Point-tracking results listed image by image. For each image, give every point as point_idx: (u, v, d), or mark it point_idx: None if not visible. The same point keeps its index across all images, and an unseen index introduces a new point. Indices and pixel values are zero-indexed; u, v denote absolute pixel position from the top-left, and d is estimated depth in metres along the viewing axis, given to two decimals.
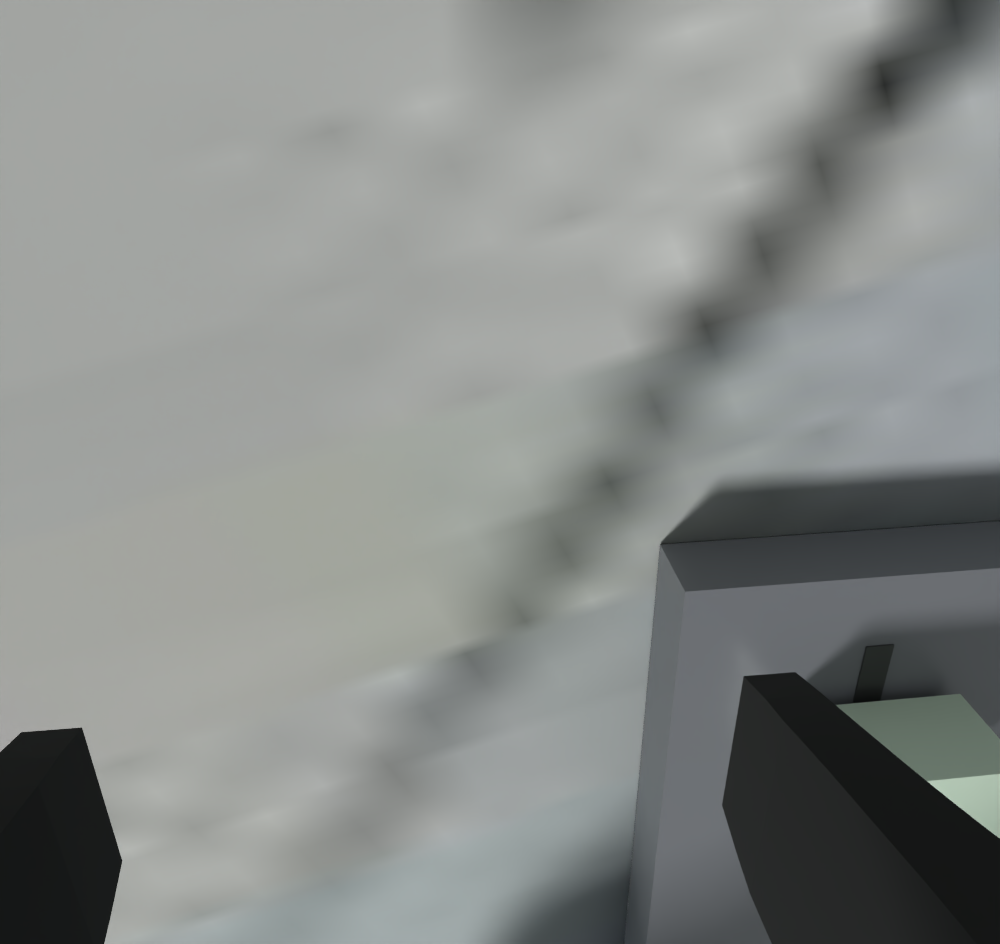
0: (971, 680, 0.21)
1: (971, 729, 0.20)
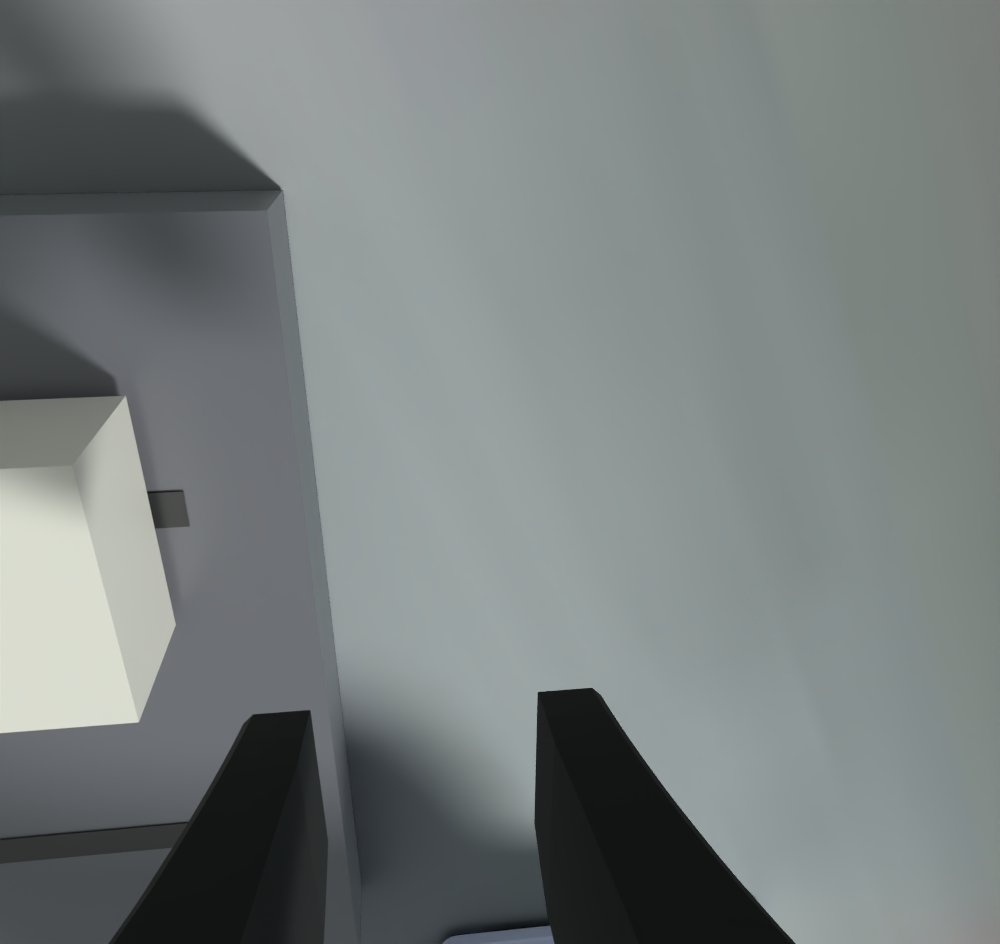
0: None
1: None
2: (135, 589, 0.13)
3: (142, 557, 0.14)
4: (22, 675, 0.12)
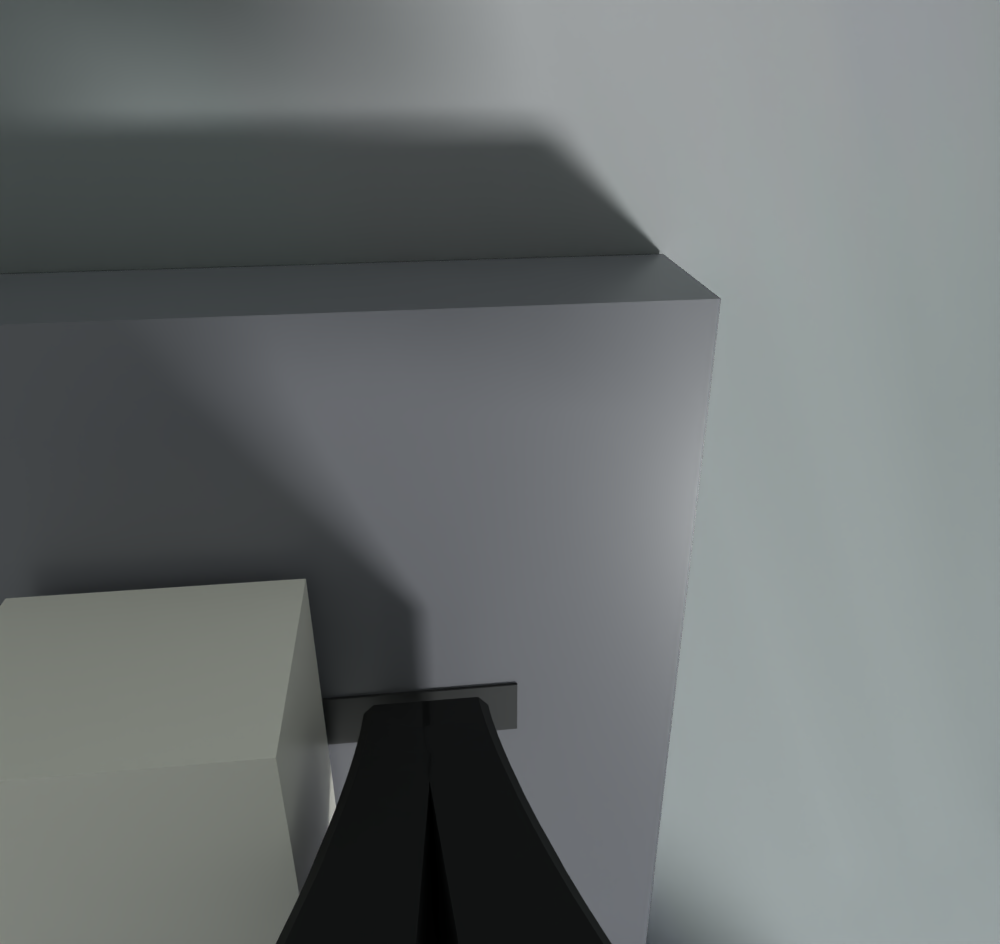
0: None
1: None
2: None
3: (324, 812, 0.09)
4: None
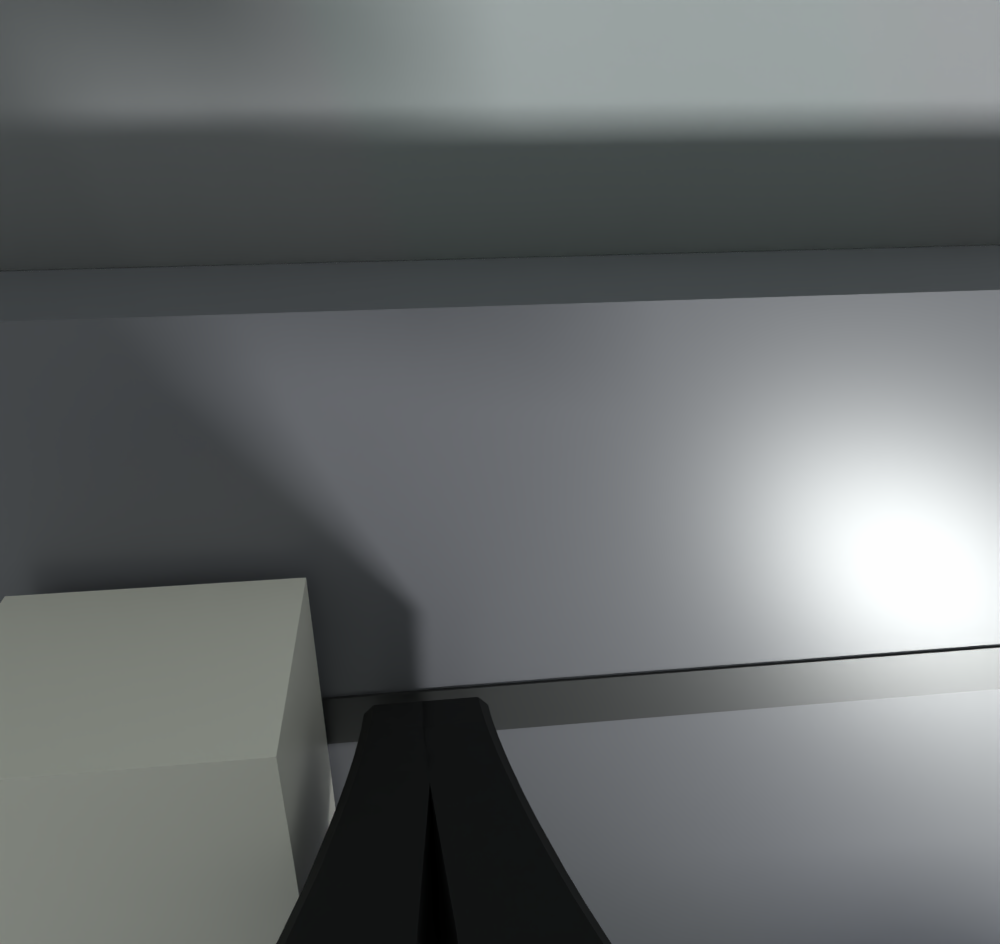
0: None
1: None
2: None
3: (323, 811, 0.09)
4: None
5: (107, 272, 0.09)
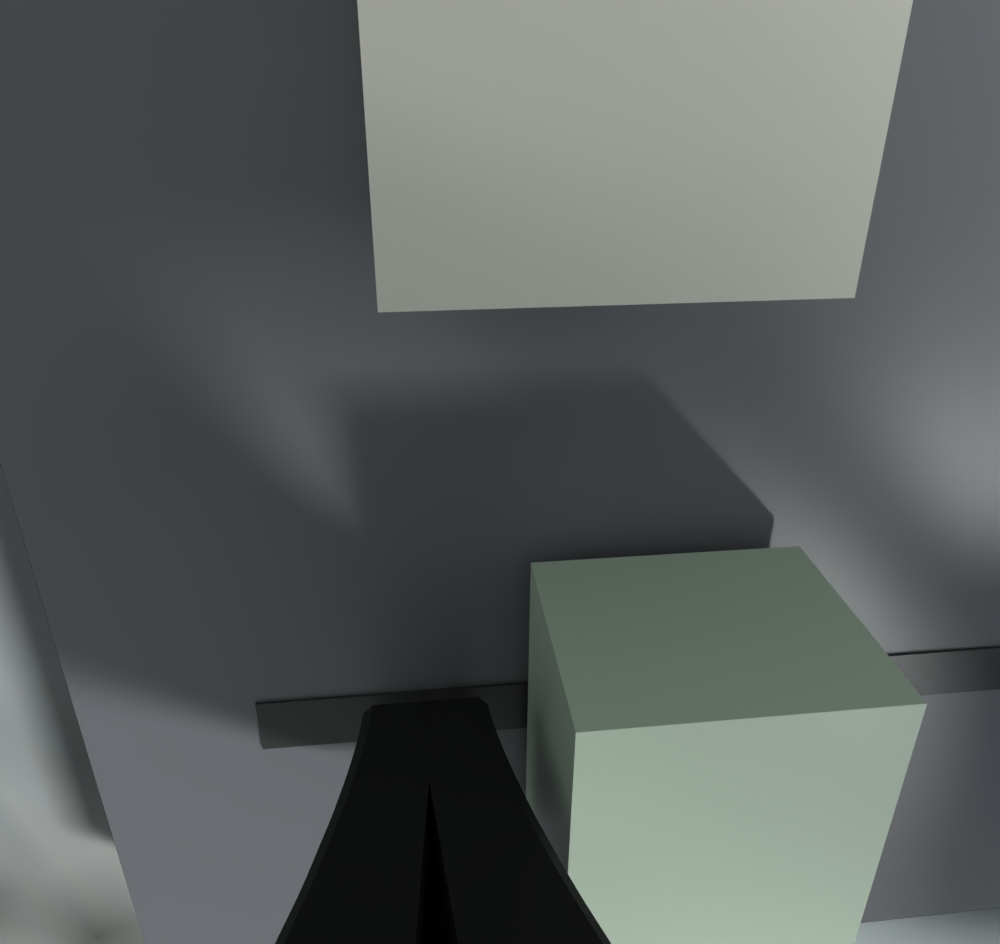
0: (361, 520, 0.09)
1: (547, 668, 0.08)
2: None
3: None
4: (641, 115, 0.05)
5: None
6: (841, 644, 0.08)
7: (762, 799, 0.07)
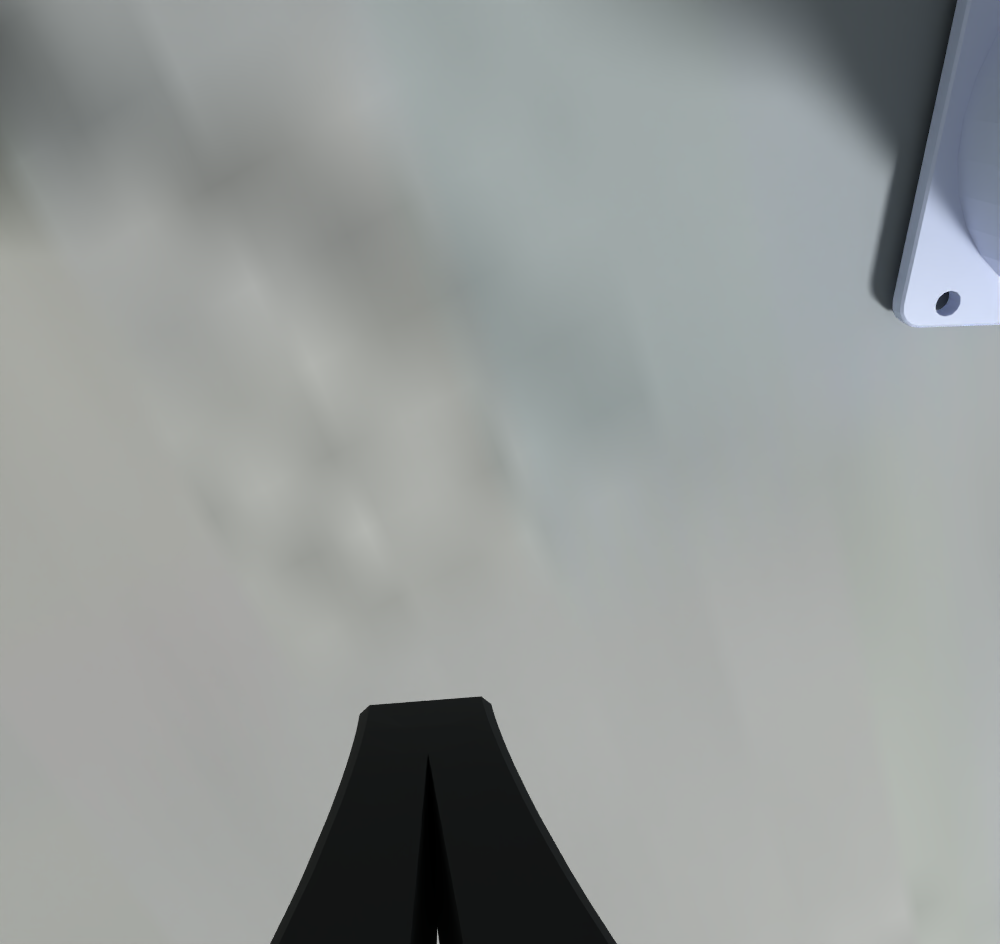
0: None
1: None
2: None
3: None
4: None
5: None
6: None
7: None
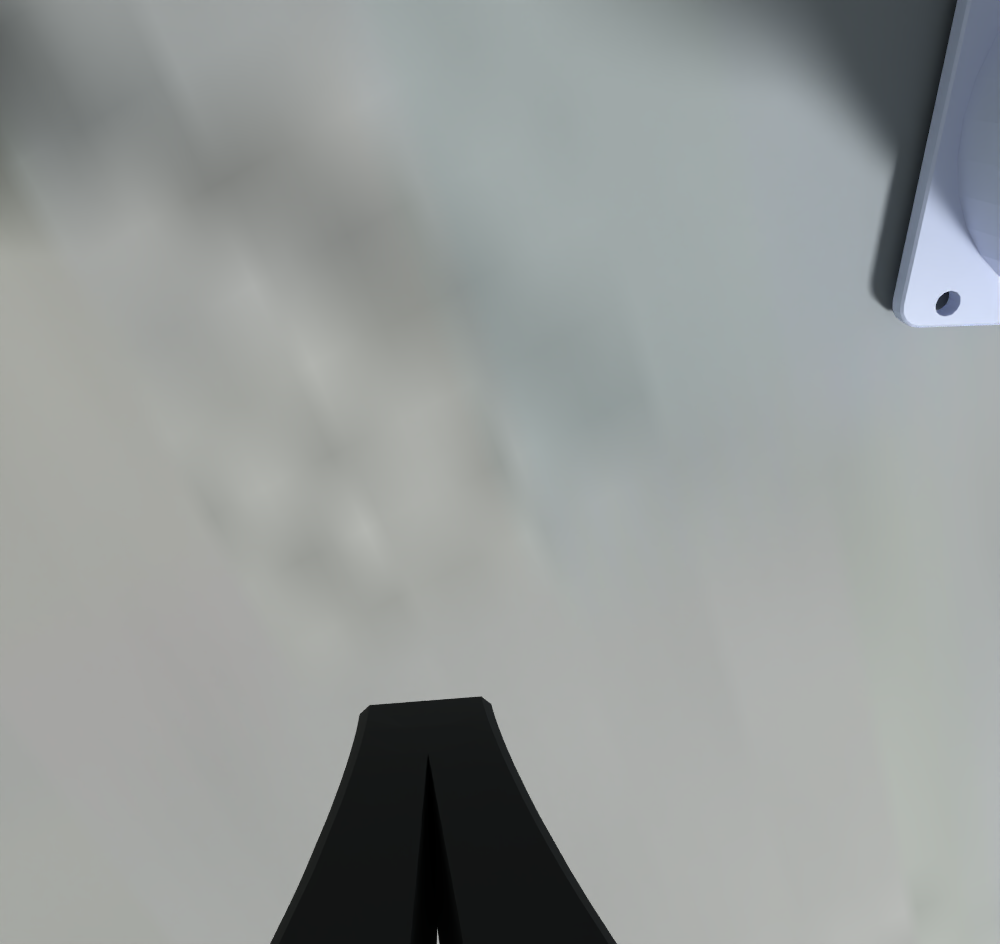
0: None
1: None
2: None
3: None
4: None
5: None
6: None
7: None
